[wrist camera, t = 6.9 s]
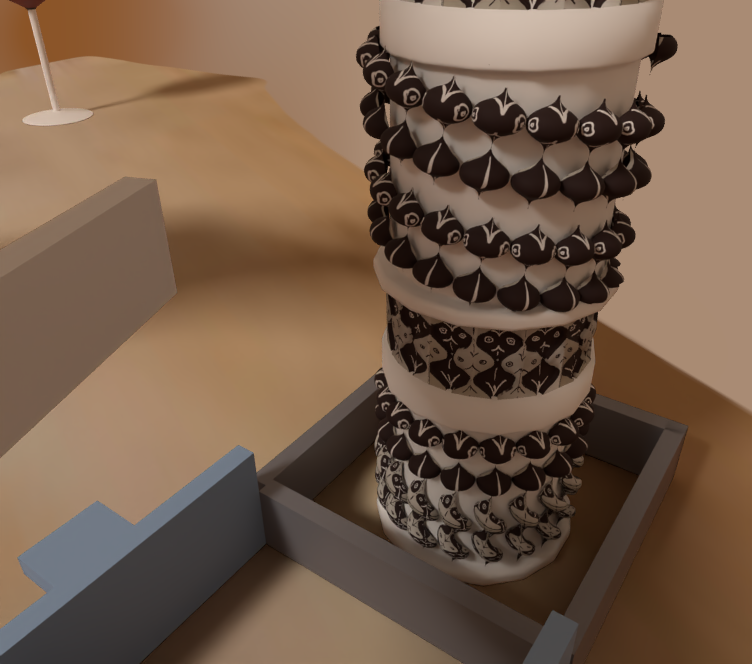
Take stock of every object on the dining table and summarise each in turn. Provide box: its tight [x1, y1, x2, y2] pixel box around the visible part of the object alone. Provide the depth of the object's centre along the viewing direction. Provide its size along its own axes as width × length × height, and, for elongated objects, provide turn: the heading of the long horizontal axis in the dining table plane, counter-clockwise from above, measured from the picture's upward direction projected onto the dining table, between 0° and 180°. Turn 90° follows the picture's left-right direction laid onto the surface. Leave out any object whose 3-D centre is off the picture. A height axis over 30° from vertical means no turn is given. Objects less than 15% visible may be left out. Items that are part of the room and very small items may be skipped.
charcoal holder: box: [256, 374, 688, 664], centre depth 30 cm, size 14×14×3 cm
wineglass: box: [9, 0, 93, 126], centre depth 81 cm, size 9×10×22 cm
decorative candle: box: [356, 0, 677, 586], centre depth 24 cm, size 9×9×25 cm
